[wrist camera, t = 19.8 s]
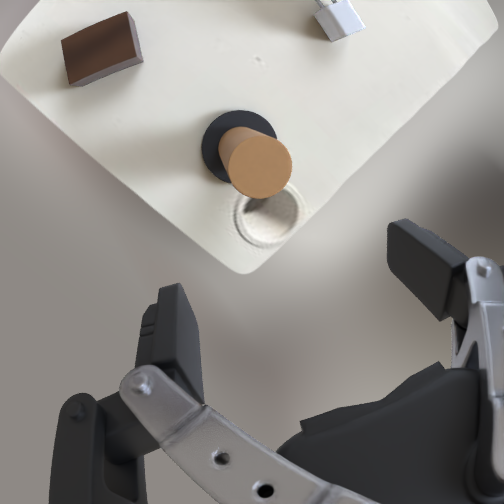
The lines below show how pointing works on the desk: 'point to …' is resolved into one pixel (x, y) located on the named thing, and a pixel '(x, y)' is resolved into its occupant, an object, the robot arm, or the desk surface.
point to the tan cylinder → (255, 162)
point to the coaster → (221, 127)
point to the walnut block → (101, 49)
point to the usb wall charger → (338, 19)
